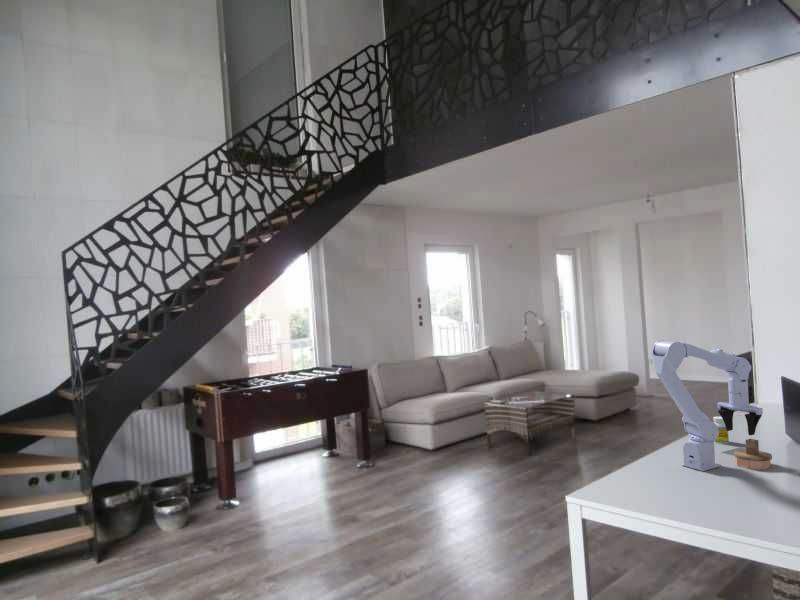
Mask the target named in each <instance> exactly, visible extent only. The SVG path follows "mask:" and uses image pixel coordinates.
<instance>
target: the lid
mask: <svg viewBox="0 0 800 600" xmlns="http://www.w3.org/2000/svg"><path fill="white" fill-rule="evenodd" d="M745 448H746V450H737V451H735V452H734V455H733V457H734V456H735V457H737V458H740V459H744V460H749V461H768V460H770V461H771V460H772V459H773V455H772V453H769V452H767V451H762V450H760V446H759V440H758V439H755V438H749V439H745Z"/></svg>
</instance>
